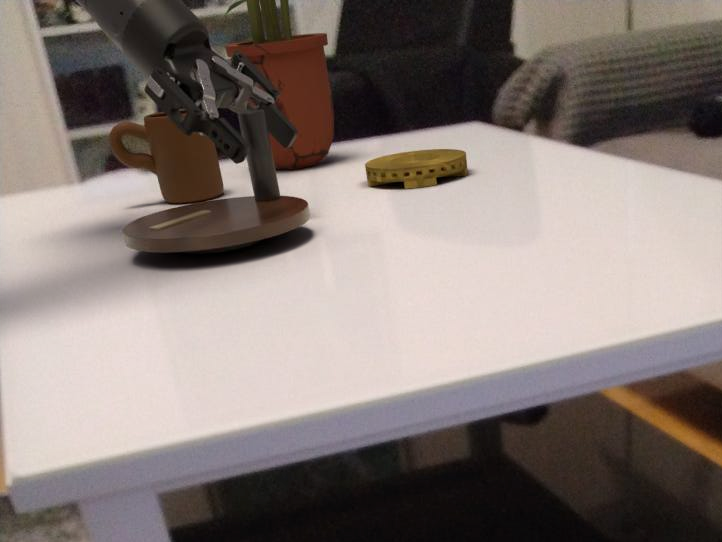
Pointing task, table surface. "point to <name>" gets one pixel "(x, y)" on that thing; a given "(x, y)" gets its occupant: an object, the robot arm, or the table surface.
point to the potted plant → (291, 81)
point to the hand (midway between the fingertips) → (269, 148)
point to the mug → (172, 158)
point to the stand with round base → (226, 208)
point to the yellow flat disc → (416, 167)
